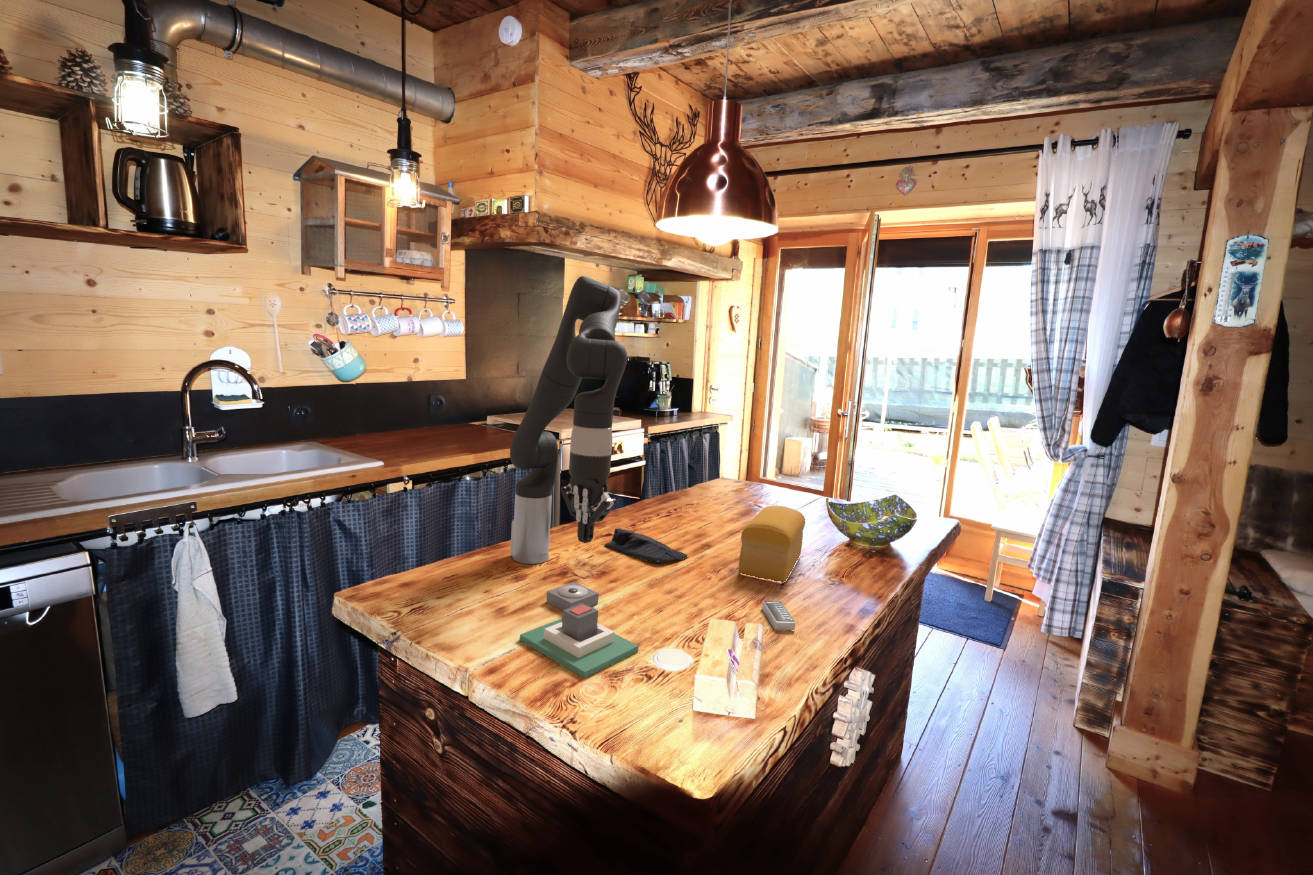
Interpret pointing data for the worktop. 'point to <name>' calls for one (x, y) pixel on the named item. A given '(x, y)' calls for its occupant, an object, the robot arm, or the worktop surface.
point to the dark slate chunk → (643, 547)
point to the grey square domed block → (572, 596)
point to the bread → (772, 543)
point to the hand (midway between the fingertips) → (584, 541)
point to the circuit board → (579, 648)
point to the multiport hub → (778, 615)
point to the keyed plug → (580, 622)
